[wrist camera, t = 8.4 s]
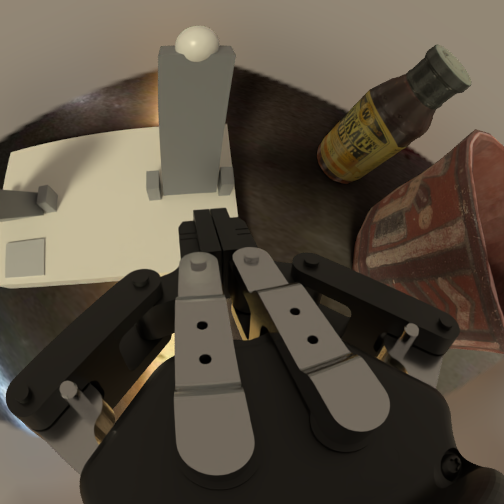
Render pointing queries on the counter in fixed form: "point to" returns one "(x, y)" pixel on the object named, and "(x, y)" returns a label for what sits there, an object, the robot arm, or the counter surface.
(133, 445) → the robot arm
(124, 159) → the switch unit
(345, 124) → the sauce bottle
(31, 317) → the counter surface
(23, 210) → the grey marked lever
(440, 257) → the pottery
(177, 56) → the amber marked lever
